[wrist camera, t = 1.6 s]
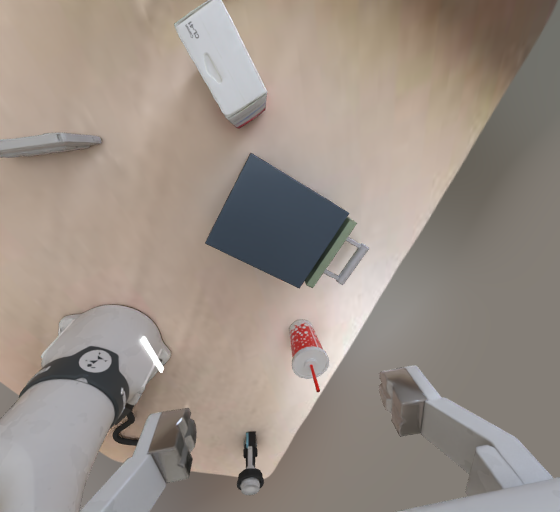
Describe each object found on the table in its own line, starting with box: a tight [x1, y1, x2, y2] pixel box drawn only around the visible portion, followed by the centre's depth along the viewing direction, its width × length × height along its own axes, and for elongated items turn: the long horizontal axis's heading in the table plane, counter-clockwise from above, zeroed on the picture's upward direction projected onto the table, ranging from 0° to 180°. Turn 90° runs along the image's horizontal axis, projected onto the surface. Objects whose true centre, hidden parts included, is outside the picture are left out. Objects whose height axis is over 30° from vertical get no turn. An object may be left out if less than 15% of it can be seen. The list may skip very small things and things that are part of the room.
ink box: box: [174, 0, 267, 128], centre depth 29 cm, size 9×5×12 cm, turn 30°
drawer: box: [305, 217, 369, 288], centre depth 39 cm, size 18×11×6 cm, turn 60°
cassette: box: [0, 133, 102, 158], centre depth 31 cm, size 12×2×8 cm, turn 98°
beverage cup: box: [289, 320, 329, 392], centre depth 44 cm, size 6×6×14 cm
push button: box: [237, 432, 264, 495], centre depth 56 cm, size 7×5×10 cm
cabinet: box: [205, 153, 349, 288], centre depth 38 cm, size 15×13×8 cm
